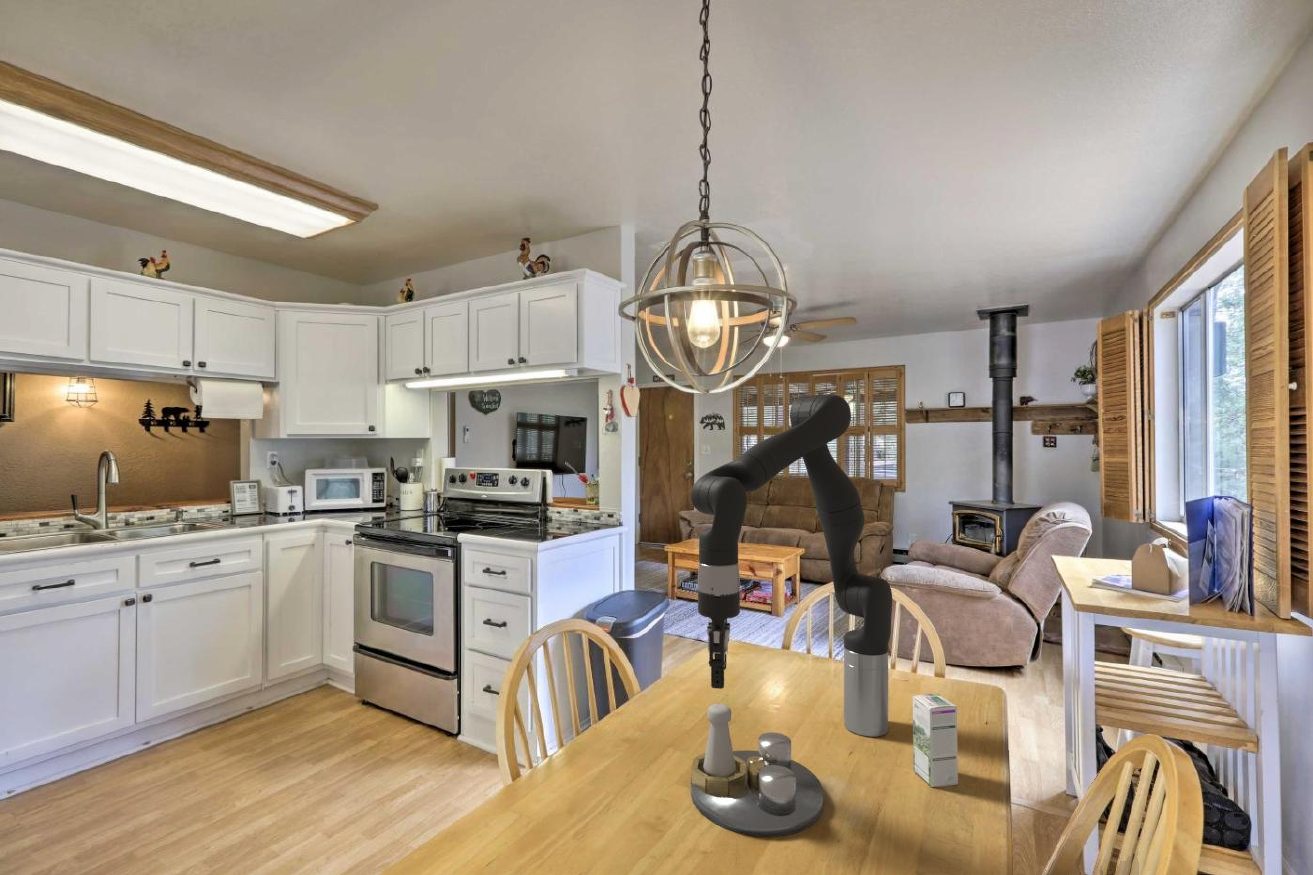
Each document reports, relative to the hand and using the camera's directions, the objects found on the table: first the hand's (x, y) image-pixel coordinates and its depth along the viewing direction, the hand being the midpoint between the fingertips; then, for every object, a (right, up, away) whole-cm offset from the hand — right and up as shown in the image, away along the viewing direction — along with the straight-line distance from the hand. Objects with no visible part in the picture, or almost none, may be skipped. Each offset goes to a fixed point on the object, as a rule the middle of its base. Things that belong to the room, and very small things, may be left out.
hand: (719, 678), depth 108 cm
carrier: (+6, -20, -1) cm, 21 cm away
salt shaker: (0, -18, 0) cm, 18 cm away
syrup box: (+41, -21, +4) cm, 46 cm away
